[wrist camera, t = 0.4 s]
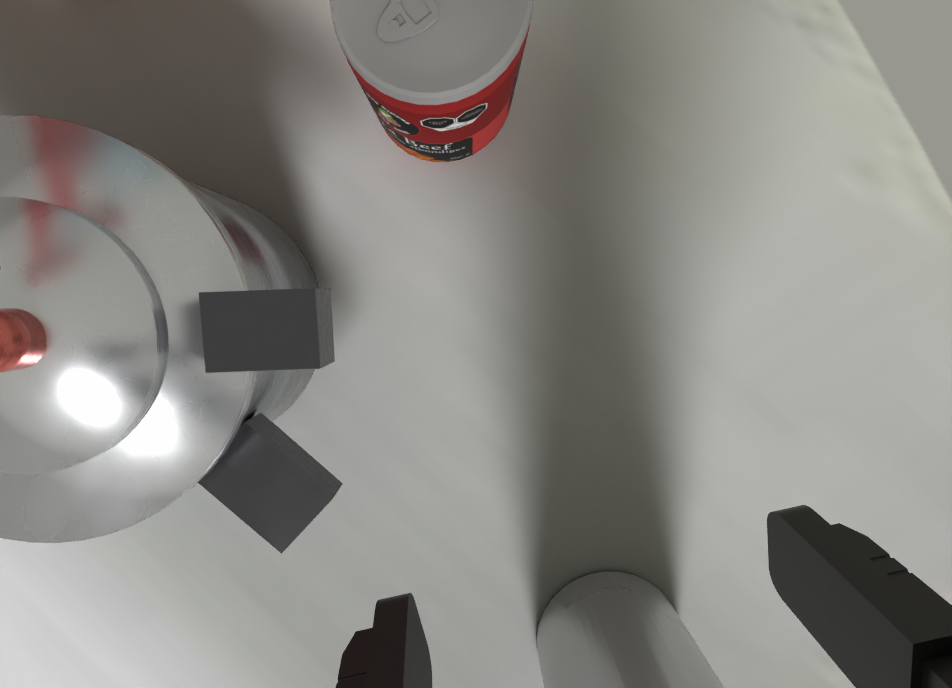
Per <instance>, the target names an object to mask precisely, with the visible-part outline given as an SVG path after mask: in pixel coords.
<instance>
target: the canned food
mask: <svg viewBox="0 0 952 688" xmlns="http://www.w3.org/2000/svg"><path fill="white" fill-rule="evenodd" d="M532 2H533V0H330V6H331V12H332V18H333V24H334V26H335V31H336V34H337V37H338V40H339V42H340V45H341V48H342V50H343V52H344V54H345V56H346V58H347V61H348V63H349V65H350V67H351V69H352V70H353V72H354V74H355V76H356V78H357V80H358V82H359V83H360V85H361V87H362V89H363V91H364V93H365V95H366V97H367V98H368V100H369V102H370V104H371V106H372V108H373V110H374V111H375V113H376V115H377V117H378V119H379V121H380V123H381V125H382V126H383V128H384V129H385V131H386V133H387V134H388V136H389V137H390V138H391V139H392V140H393V141H394V142H395V144H396V145H397V146H399V147H400V148H401V149H403V150H404V151H406V152H407V153H408V154H410V155H413V156H415V157H417V158H420V159H423V160H428V161H432V162H450V161H455V160H460V159H463V158H465V157H468V156H470V155H473V154H475V153H476V152H478V151H479V150H481V149H482V148H484V147H485V146H486V145H487V144H488V143H489V142H490V141H491V140H492V139H493V138H495V136H496V135H497V133H498V132H499V131H500V129H501V128H502V126H503V124H504V122H505V120H506V118H507V116H508V114H509V110H510V106H511V102H512V98H513V93H514V89H515V85H516V81H517V77H518V73H519V68H520V64H521V60H522V56H523V52H524V47H525V43H526V39H527V35H528V31H529V24H530V20H531V15H532Z"/></svg>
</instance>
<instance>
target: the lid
mask: <svg viewBox="0 0 952 688" xmlns="http://www.w3.org/2000/svg"><path fill="white" fill-rule="evenodd" d="M334 361H335V359H334V343H333V327H332V311H331V295H330V288H303V289H277V290H252V287H251V283H250V280H249V276H248V273H247V271H246V268H245V266H244V264H243V261H242V259H241V257H240V254H239V252H238V249H237V248H236V246H235V244H234V242H233V241H232V239H231V237H230V235H229V234H228V232H227V230H226V229H225V227H224V225H223V224H222V222H221V221H220V220H219V218H218V217H217V216H216V215H215V213H214V212H213V211H212V209H211V208H210V207H209V205H208V204H207V203H206V202H205V201H204V200H203V198H202V197H201V196H200V195H199V194H198V193H197V192H196V191H195V190H194V189H193V188H192V187H191V186H190V185H189V184H188V183H187V182H186V181H184V180H183V179H182V178H181V177H179V176H178V175H177V174H176V173H174V172H173V171H172V170H171V169H169V168H168V167H167V166H166V165H164V164H163V163H161V162H160V161H158V160H156V159H155V158H153V157H151V156H150V155H148V154H146V153H145V152H143V151H142V150H140V149H138V148H136V147H133V146H131V145H129V144H127V143H124V142H122V141H120V140H118V139H116V138H113V137H111V136H109V135H106V134H104V133H102V132H100V131H97V130H95V129H92V128H88V127H85V126H82V125H78V124H75V123H72V122H68V121H64V120H58V119H52V118H46V117H40V116H23V115H3V116H0V538H4V539H11V540H18V541H25V542H43V543H60V542H70V541H79V540H86V539H91V538H95V537H99V536H103V535H108V534H111V533H114V532H117V531H119V530H122V529H125V528H127V527H130V526H133V525H135V524H137V523H139V522H141V521H143V520H145V519H146V518H148V517H150V516H152V515H154V514H156V513H158V512H159V511H161V510H162V509H163V508H165V507H166V506H168V505H169V504H171V503H172V502H173V501H175V500H176V499H177V498H179V497H180V496H182V495H183V494H184V493H186V492H187V491H188V490H190V489H191V488H193V487H194V486H195V485H196V484H197V483H198V482H199V481H200V480H201V479H202V478H203V477H204V476H205V475H206V474H207V473H208V472H209V471H210V470H211V469H212V468H213V467H214V466H215V464H216V463H217V462H218V461H219V459H220V458H221V457H222V456H223V454H224V453H225V452H226V450H227V449H228V447H229V446H230V444H231V442H232V441H233V439H234V437H235V435H236V434H237V432H238V430H239V429H240V426H241V424H242V422H243V419H244V417H245V414H246V412H247V410H248V407H249V405H250V401H251V397H252V394H253V390H254V386H255V382H256V377H257V371H268V370H294V369H320V368H322V367H324V366H326V365H328V364H330V363H332V362H334Z"/></svg>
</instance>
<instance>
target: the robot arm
mask: <svg viewBox="0 0 952 688" xmlns="http://www.w3.org/2000/svg"><path fill="white" fill-rule="evenodd" d="M767 531H768V556H769V571H770V576H771V579H772V582H773V584H774V586H775V588H776V590H777V592H778V594H779V595H780V597H781V598H782V600H783V601H784V602H785V603H786V605H787V606H788V607H789V608H790V609H791V611H792V612H793V613H794V614H795V615H796V617H797V618H798V619H799V620H800V621H801V623H802V624H803V625H804V626H805V627H806V629H807V630H808V631H809V632H810V633H811V634H812V636H813V637H814V638H815V639H816V640H817V642H818V643H819V644H820V645H821V646H822V648H823V649H824V650H825V651H826V652H827V654H828V655H829V656H830V657H831V658H832V660H833V661H834V662H835V663H836V664H837V666H838V667H839V668H840V669H841V670H842V672H843V673H844V674H845V675H846V676H847V678H848V679H849V680H850V681H851V682H852V684H853V685H854V686H855V687H856V688H952V605H951V604H949V603H948V602H947V601H946V600H944V599H943V598H942V597H941V596H940V595H938V594H937V593H936V592H935V591H933V590H932V589H931V588H930V587H929V586H927V585H926V584H925V583H924V582H922V581H921V580H920V579H919V578H918V577H916V576H915V575H914V574H913V573H909V572H908V570H907V568H905V567H904V566H903V565H902V564H900V563H899V562H898V561H897V560H896V559H894V558H890V556H889V554H888V553H887V552H886V551H885V550H883V549H882V548H881V547H880V546H878V545H877V544H876V543H875V542H874V541H872V540H871V539H870V538H869V537H867V536H865V535H863V534H861V533H859V532H857V531H855V530H853V529H850V528H848V527H846V526H844V525H842V524H840V523H839V524H834V525H830V524H829V523H828V522H827V521H825V520H824V519H823V518H822V517H821V516H820V515H818V514H817V513H816V512H815V511H814V510H813V509H811V508H810V507H808V506H806V505H801V506H797V507H792V508H788V509H783V510H779V511H774V512H771V513H769V514H768V517H767ZM537 649H538V657H539V662H540V667H541V673H542V678H543V683H544V688H724V686H723V684H722V683H721V681H720V680H719V678H718V677H717V675H716V674H715V672H714V671H713V669H712V667H711V666H710V664H709V663H708V661H707V660H706V658H705V657H704V655H703V654H702V652H701V650H700V649H699V647H698V646H697V644H696V642H695V641H694V639H693V638H692V636H691V635H690V633H689V631H688V630H687V628H686V627H685V625H684V624H683V622H682V621H681V619H680V618H679V616H678V615H677V613H676V611H675V610H674V608H673V607H672V605H671V604H670V602H669V601H668V599H667V598H666V597H665V596H664V595H663V594H662V593H661V591H660V590H659V589H657V588H656V587H655V586H653V585H652V584H651V583H649V582H648V581H646V580H644V579H642V578H639V577H637V576H635V575H632V574H627V573H623V572H599V573H593V574H588V575H586V576H584V577H581V578H579V579H576V580H574V581H573V582H571V583H570V584H568V585H567V586H565V587H564V588H562V589H561V590H560V591H559V592H558V593H557V594H556V595H555V596H554V597H553V598H552V599H551V601H550V602H549V604H548V606H547V607H546V609H545V610H544V612H543V615H542V617H541V620H540V623H539V626H538V633H537ZM336 688H432V669H431V660H430V654H429V649H428V645H427V641H426V638H425V634H424V631H423V628H422V624H421V621H420V617H419V614H418V610H417V607H416V603H415V600H414V597H413V595H412V594H411V593H408V594H403V595H399V596H394V597H390V598H385V599H380V600H378V601H377V603H376V608H375V615H374V622H373V628H370V629H365V630H361V631H356V632H355V634H354V636H353V637H352V639H351V641H350V642H349V644H348V646H347V647H346V649H345V651H344V652H343V654H342V659H341V664H340V669H339V674H338V683H337V685H336Z"/></svg>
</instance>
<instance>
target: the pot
mask: <svg viewBox="0 0 952 688" xmlns="http://www.w3.org/2000/svg"><path fill="white" fill-rule="evenodd" d="M184 181H186V180H184ZM186 182H187V183H188V184H189V185H190V186H191V187H192V188H193V189H194V190H195V191H196V192H197V193H198V194H199V195H200V196H201V197H202V198H203V200H204V201H205V202H206V203H207V204H208V205H209V207H210V208H211V209H212V211H213V212H214V213H215V215H216V216H217V217H218V218H219V220H220V221H221V222H222V224H223V225H224V227H225V229H226V230H227V232H228V234H229V235H230V237H231V239H232V241H233V242H234V244H235V246H236V248H237V249H238V252H239V254H240V257H241V259H242V261H243V264H244V266H245V268H246V271H247V273H248V276H249V280H250V283H251V287H252V290H277V289H303V288H318V284H317V281H316V279H315V276H314V274H313V272H312V269H311V267H310V265H309V263H308V262H307V260H306V258H305V256H304V255H303V253H302V252H301V250H300V249H299V248H298V246H297V245H296V244H295V242H294V241H293V240H292V239H291V238H290V236H289V235H288V234H287V233H286V232H285V231H284V230H283V229H282V228H281V227H280V226H278V225H277V224H276V223H275V222H273V221H272V220H271V219H270V218H268V217H267V216H265V215H264V214H262V213H260V212H259V211H257V210H256V209H254V208H252V207H250V206H248V205H245V204H243V203H241V202H239V201H236V200H234V199H231V198H229V197H226V196H224V195H221V194H219V193H216V192H214V191H211V190H209V189H206V188H203V187H201V186H198V185H196V184H193V183H191V182H188V181H186ZM314 370H315V369H294V370H268V371H257V377H256V382H255V386H254V390H253V394H252V397H251V401H250V405H249V407H248V410H247V412H246V414H245V417H244V419H243V422H242V424H241V426H240V429H239V430H238V432H237V434H236V435H235V437H234V439H233V441H232V442H231V444H230V446H229V447H228V449H227V450H226V452H225V453H224V454H223V456H222V457H221V458H220V459H219V461H218V462H217V463H216V464H215V466H214V467H213V468H212V469H211V470H210V471H209V472H208V473H207V474H206V475H205V476H204V477H203V478H202V479H201V480H200V481H199V482H198V483H199V484H200V485H202V486H203V487H204V488H205V489H206V490H207V491H209V492H210V493H211V494H212V495H213V496H214V497H216V498H217V499H218V500H219V501H220V502H222V503H223V504H224V505H225V506H226V507H227V508H229V509H230V510H231V511H232V512H233V513H234V514H236V515H237V516H238V517H239V518H240V519H242V520H243V521H244V522H245V523H246V524H247V525H249V526H250V527H251V528H252V529H253V530H254V531H256V532H257V533H258V534H259V535H260V536H261V537H263V538H264V539H265V540H266V541H267V542H269V543H270V544H271V545H272V546H273V547H274V548H276V549H277V550H278V551H279V552H280V553H281V554H282V552H283V551H284V550H285V549H286V548H287V547H288V546H289V545H290V544H291V543H292V542H293V541H294V540H295V539H296V537H297V536H298V535H299V534H300V533H301V532H302V531H303V530H304V529H305V528H306V527H307V526H308V525H309V524H310V522H311V521H312V520H313V519H314V518H315V517H316V516H317V515H318V514H319V513H320V512H321V511H322V510H323V508H324V507H325V506H326V505H327V504H328V503H329V502H330V501H331V500H332V499H333V497H334V496H335V494H336V493H337V491H338V490H339V488H340V487H341V485H342V483H341V482H340V481H339V480H338V479H337V478H336V477H334V476H333V475H332V474H331V473H330V472H329V471H328V470H326V469H325V468H324V467H323V466H322V465H321V464H320V463H318V462H317V461H316V460H315V459H314V458H313V457H312V456H310V455H309V454H308V453H307V452H306V451H305V450H304V449H302V448H301V447H300V446H299V445H298V444H297V443H296V442H294V441H293V440H292V439H291V438H290V437H289V436H288V435H286V434H285V433H284V432H283V431H282V430H281V429H280V428H278V427H277V426H276V425H275V424H274V423H273V422H272V421H273V420H275V419H276V418H278V417H279V416H280V415H282V414H283V413H284V412H285V411H286V410H287V409H288V408H289V407H290V406H291V405H292V404H293V403H294V402H295V401H296V399H297V398H298V397H299V396H300V394H301V393H302V392H303V390H304V389H305V387H306V385H307V384H308V382H309V380H310V379H311V377H312V374H313V372H314Z"/></svg>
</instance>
